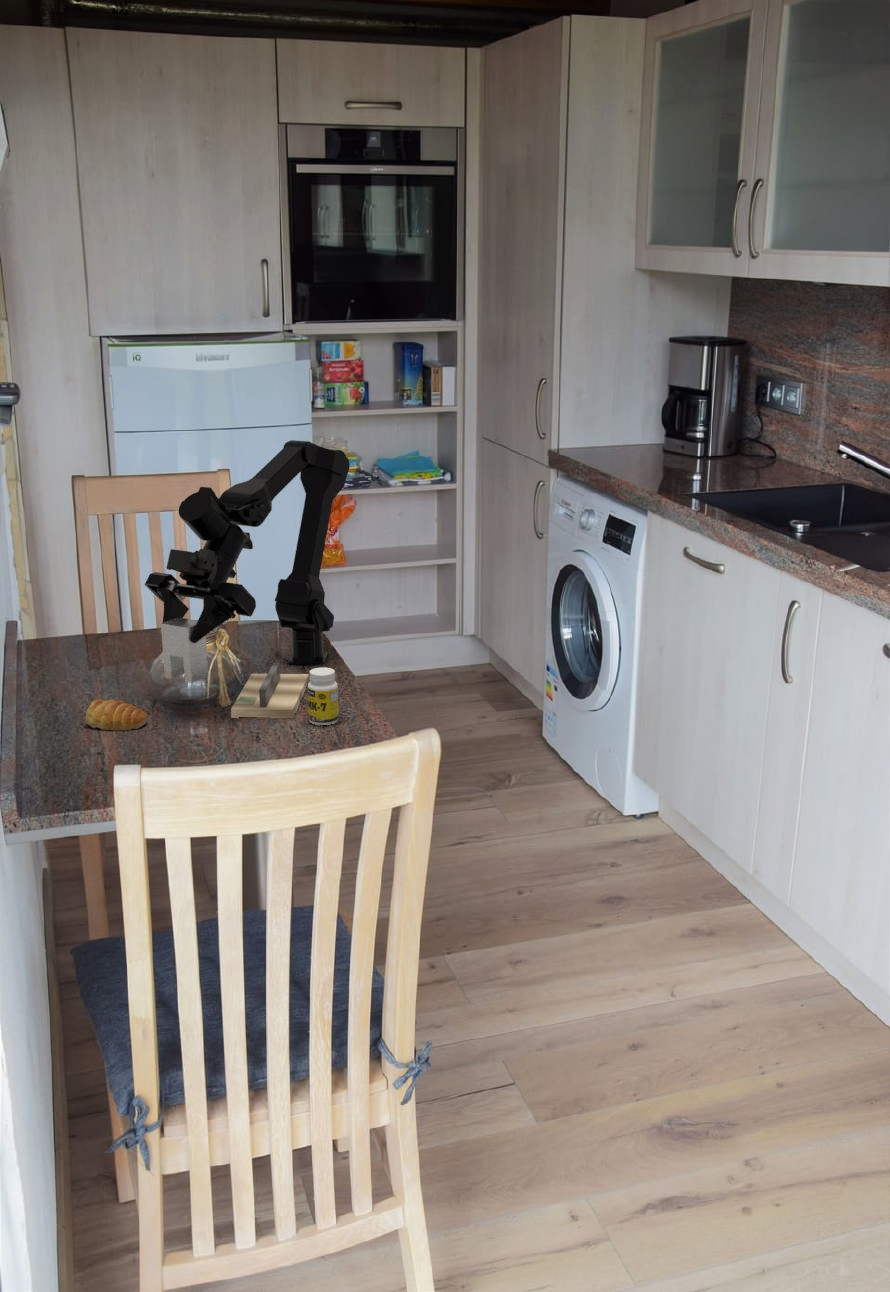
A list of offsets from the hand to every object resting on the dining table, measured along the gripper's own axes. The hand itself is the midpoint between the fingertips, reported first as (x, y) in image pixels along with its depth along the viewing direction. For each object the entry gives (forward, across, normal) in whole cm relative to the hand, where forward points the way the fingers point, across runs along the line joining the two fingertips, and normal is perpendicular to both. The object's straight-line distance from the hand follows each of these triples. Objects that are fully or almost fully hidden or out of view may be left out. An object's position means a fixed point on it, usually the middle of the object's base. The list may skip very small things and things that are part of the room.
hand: (178, 639), depth 186 cm
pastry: (+14, -8, +5) cm, 17 cm away
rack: (0, +7, +19) cm, 21 cm away
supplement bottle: (+3, +20, +16) cm, 26 cm away
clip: (+4, 0, +6) cm, 7 cm away
